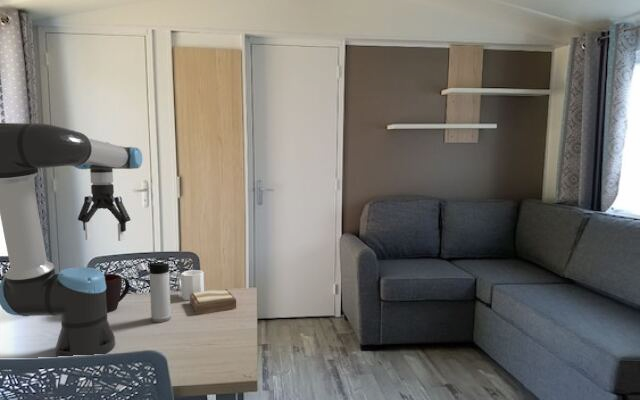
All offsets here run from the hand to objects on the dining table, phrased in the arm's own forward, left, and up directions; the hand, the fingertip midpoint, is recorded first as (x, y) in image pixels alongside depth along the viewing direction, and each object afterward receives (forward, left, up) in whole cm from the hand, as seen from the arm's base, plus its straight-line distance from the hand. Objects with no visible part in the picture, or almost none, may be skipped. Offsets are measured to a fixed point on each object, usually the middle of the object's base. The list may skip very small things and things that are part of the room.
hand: (105, 239), depth 166 cm
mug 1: (-10, -1, -24) cm, 26 cm away
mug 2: (-8, -29, -24) cm, 39 cm away
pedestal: (-23, -35, -24) cm, 48 cm away
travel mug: (-29, -16, -24) cm, 41 cm away
